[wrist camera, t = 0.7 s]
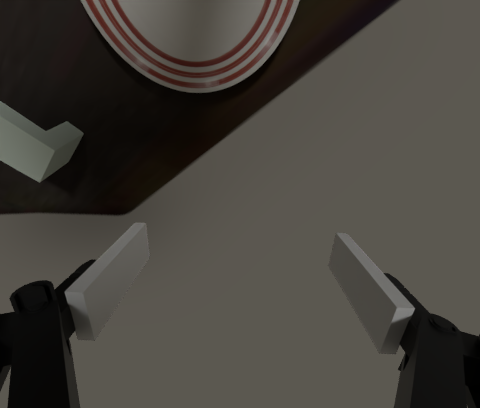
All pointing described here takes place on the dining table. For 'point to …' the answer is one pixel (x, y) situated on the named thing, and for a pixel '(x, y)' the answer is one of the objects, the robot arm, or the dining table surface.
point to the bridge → (35, 144)
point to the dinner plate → (193, 38)
